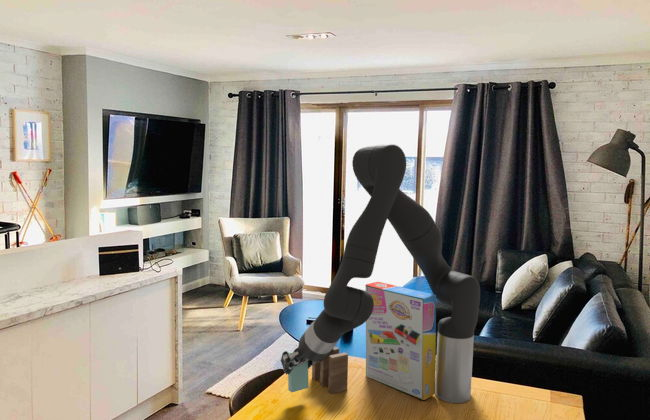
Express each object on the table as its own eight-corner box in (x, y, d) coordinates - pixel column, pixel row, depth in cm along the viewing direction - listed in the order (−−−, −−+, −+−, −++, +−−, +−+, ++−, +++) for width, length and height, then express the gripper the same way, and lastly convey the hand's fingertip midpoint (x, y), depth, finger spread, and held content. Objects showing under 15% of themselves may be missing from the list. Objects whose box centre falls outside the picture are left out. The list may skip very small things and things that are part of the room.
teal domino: (308, 387, 135) (307, 350, 134) (291, 392, 132) (290, 354, 131) (305, 385, 136) (304, 348, 135) (288, 390, 133) (287, 352, 132)
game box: (436, 394, 138) (438, 294, 135) (423, 401, 135) (425, 298, 132) (377, 371, 154) (377, 280, 151) (364, 376, 150) (364, 283, 147)
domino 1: (330, 377, 149) (330, 343, 148) (314, 380, 146) (315, 346, 145) (327, 374, 150) (327, 341, 149) (311, 378, 148) (312, 344, 147)
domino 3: (347, 389, 141) (348, 354, 140) (331, 393, 139) (332, 357, 137) (344, 387, 143) (344, 352, 141) (328, 391, 140) (329, 355, 139)
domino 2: (338, 383, 145) (339, 348, 144) (322, 387, 142) (323, 351, 141) (335, 380, 146) (336, 346, 145) (319, 384, 144) (320, 349, 143)
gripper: (339, 319, 129) (314, 350, 140) (287, 329, 121) (265, 360, 133) (351, 347, 125) (324, 376, 136) (298, 359, 117) (274, 388, 129)
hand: (295, 368), depth 135 cm, fingers closed on teal domino, 5 cm apart
